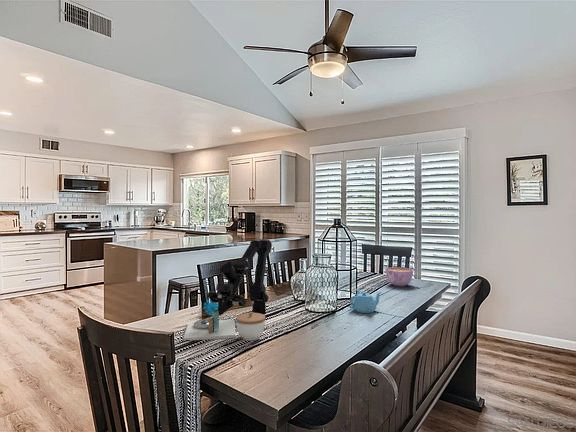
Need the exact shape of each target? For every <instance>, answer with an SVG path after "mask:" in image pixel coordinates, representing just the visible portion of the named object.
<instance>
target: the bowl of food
mask: <svg viewBox="0 0 576 432" xmlns="http://www.w3.org/2000/svg"><path fill="white" fill-rule="evenodd" d="M384 271H385V276H386V279H387V282H389V284H391V285H393V286H394V287H405V286H406V285H409V284H410V283H411V281H412V278H413V274H414V269H413V268H411V267H410V268H409V267H402V266H400V267H399V266H395V267H394V266H391V267H389V266H388V267H386V268H384Z"/></svg>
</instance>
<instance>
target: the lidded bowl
mask: <svg viewBox="0 0 576 432" xmlns="http://www.w3.org/2000/svg"><path fill="white" fill-rule="evenodd" d="M235 326H236V330H237V332H238V333H237V334H238V335H239V336H240V337H241V338H242V339H243V341H248V342H249V341H256V340H259V339H260V337H261V336H262V335H263V333H264V331H265V326H266V316H265V315H264V314H260V313H253V311H249V312H245V313H241V314H238V315H236V317H235Z"/></svg>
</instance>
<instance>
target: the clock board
mask: <svg viewBox="0 0 576 432" xmlns="http://www.w3.org/2000/svg"><path fill="white" fill-rule="evenodd" d="M207 320H208V326H209V329H208V328H205V329H199V328H195V327H194V323H195V322H196V321H188V323H187V326H186V329H185V332H184V335H183V339H182V340H183V341H184V342H187V341H186V340H190V341H201V340H202V341H203V340H204V341H205V340H219V339H221V340H222V339H235V338H236V319H219V331H217V332H213V319H212V317H211V318H208V319H207Z"/></svg>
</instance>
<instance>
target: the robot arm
mask: <svg viewBox="0 0 576 432" xmlns="http://www.w3.org/2000/svg"><path fill="white" fill-rule="evenodd" d="M249 243H250V244H249V245H248V246H247V248H246V250H245V252H244V253H243V255H242V257H240V258H239V259H237V260H236V261H235V262H234V263H233V262H232V261H227V263H224V264H223V265H222V266H221V267H220V270H219V271H220V273H221V274H222V275H223V277H224V278H225V280H227V283H219V282H217V284H216V287H215V291H211V290H210V291H208V292H207V294H206V297H207V298H208V300H209V301H210V300H211V301H212V303H213V302H215V304H217V303H218V305H217V306H218V311H219V317H220V316H222V315H224V313H226V312H227V311H228V310H229V309H231V308H234V307H235V303H238V305H239V307H245V306H246V304H247V300H246V298H245V297H244V296H243V295H242V294H238V293H239V287H240V285H241V284H243V283H245V282H244V279H243V278H244V277H243V276H246V275H247V274H248V273H249V271H250V269H251V265H250V264H251V262H252V261H253V259H254V257H255V255H256V254H257V259H256V266H255V267H256V268H255V275H254V282H253V283H252V284H250V285H249V291H248V292H249V293H248V296H249V299H250V302H252V305H251V306H252V307H251V308H252V309H251V310H252V311H251V312H252V313H260V314H263V315H264V314H267V311H266V306H267V304H266V303H268V302H269V298H270V297H269V295H268V293H267V292H266V290H267V288H266V285H265V284H264V282H265V274H266V273H265V272H266V265H267V259H268V256H269V255H270V253H271V249H272V247H273V244H272V241H271V240H270V239H256V240H255V239H252V240H251V241H250V242H249ZM217 291H218V292H219V294H218V292H217Z"/></svg>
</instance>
